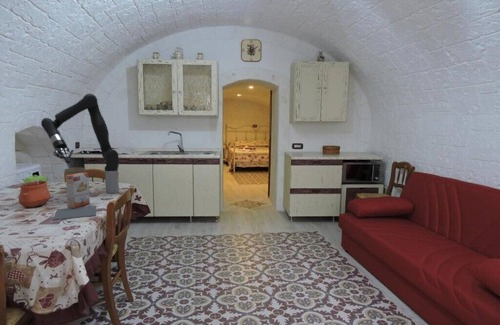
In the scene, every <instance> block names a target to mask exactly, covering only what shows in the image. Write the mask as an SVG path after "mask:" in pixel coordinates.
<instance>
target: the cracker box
mask: <svg viewBox="0 0 500 325" xmlns="http://www.w3.org/2000/svg"><path fill="white" fill-rule="evenodd" d="M89 178H90V177H89V172H85V173H78V174H72V175H65V180H66V181H65V184H66V185H65V186H66V203H67V206H66V207H67V208H77V207H84V206H86V205H87V206H88V205H89V204H90V203H91V202H90V201H91V200H90V179H89Z"/></svg>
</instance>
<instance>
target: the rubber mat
mask: <svg viewBox="0 0 500 325" xmlns="http://www.w3.org/2000/svg"><path fill="white" fill-rule="evenodd" d="M96 216H97V205H87V206H86V205H84V206H80V207H77V208H68V207H66V208H58V209H56V211H55V212H54V216H53V218H52V221H61V220H71V219H80V218H81V219H82V218H88V217H96Z"/></svg>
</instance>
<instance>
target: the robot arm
mask: <svg viewBox="0 0 500 325" xmlns="http://www.w3.org/2000/svg"><path fill="white" fill-rule="evenodd" d="M85 110H87V112H88V114H89V117H90V121H91V125H92V129H93V132H94V134H95V137H96V140H97V142H98V145H99V149H100V151H101V155H102V158H103V160H105V166H104V182H105V194H111V195H112V194H118V193H119V192H120V186H119V182H120V181H119V171H118V170H119V166H120V164H119V162H120V160H119V159H120V158H119V157H120V156H119V152H118V151H117V150H115V149H113V148H112V146H111V144H110V140H109V138H110V137H109V136H110V135H109V134H110V133H109V129H108V126H107V124H106V121H105V119H104V117H103V115H102V113H101V110H100V107H99V103H98V98H97V96H96V95H94V94H93V93H86V94H85V95H84V96H83V98H81V99H80V100H79V101H78V102H76V103H74V104H73V105H70V106H69V107H66V108H65V109H63V110H61V111H59V112H58V113H56V114H55V115H54V118H55V119H54V120H52V119H51V118H49V117H44V118H42V120H41V122H40V123H41V127H42V128H43V130H44V132H45V133H46V134H47V136H48V139H49V140H50V142H51V145H52V147H53V149H54V151H53V152H52V153H53V154H52V155H53V156H55V157H57V158H59V159H60V160H64V162H65V163H66V164H70V163H71V157H72V155H73V153H74V149H70V148H69V147H68V144H67V143H66V141H65V139H64V137H63V136H62V134H61V132H60V131H59V130H58V129H59V128H60V127H61V126H62V125H63V124H64V123H65V122H67V121H69V120H71V119H72V118H73V117H75V116H76V115H78V114H80V113H81V112H83V111H85Z"/></svg>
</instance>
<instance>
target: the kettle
mask: <svg viewBox="0 0 500 325" xmlns="http://www.w3.org/2000/svg"><path fill="white" fill-rule="evenodd" d="M49 179H50V178H49V177H46V176H43V175H37V174H33V176H32V175H29V176H27V177H24V178H21V180H23V182H24V184H25V183H27V182H33V181H46V182H47V181H48V180H49Z"/></svg>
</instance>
